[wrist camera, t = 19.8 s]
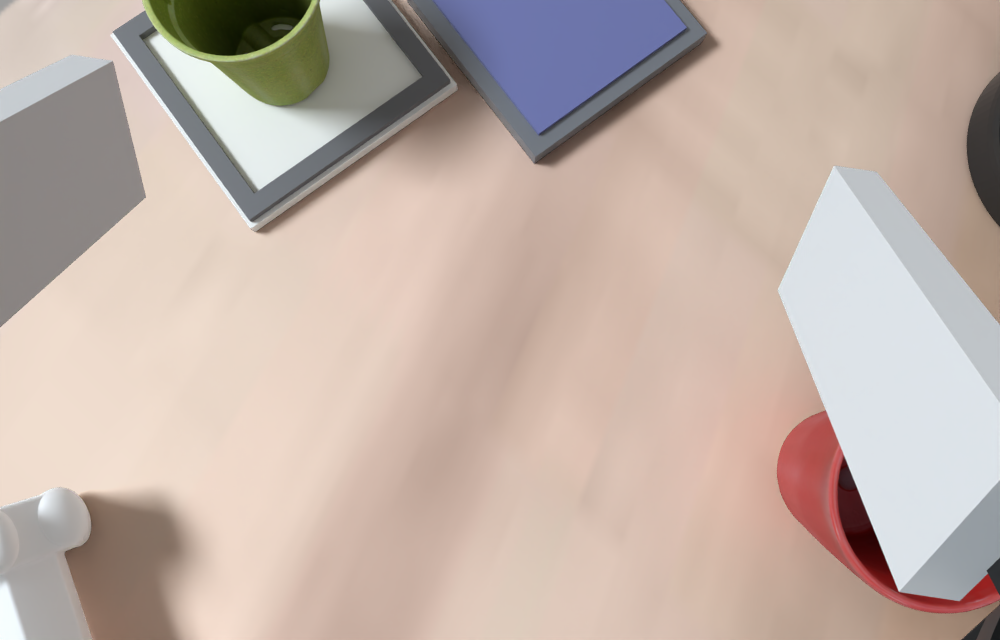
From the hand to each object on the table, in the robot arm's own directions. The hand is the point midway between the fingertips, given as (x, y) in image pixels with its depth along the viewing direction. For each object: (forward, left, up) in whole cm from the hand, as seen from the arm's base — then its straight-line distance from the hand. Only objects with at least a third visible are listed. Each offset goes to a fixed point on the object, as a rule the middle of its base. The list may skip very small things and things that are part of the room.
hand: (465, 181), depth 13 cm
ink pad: (-16, -14, -29) cm, 36 cm away
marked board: (0, -22, -29) cm, 37 cm away
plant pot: (0, -22, -29) cm, 36 cm away
